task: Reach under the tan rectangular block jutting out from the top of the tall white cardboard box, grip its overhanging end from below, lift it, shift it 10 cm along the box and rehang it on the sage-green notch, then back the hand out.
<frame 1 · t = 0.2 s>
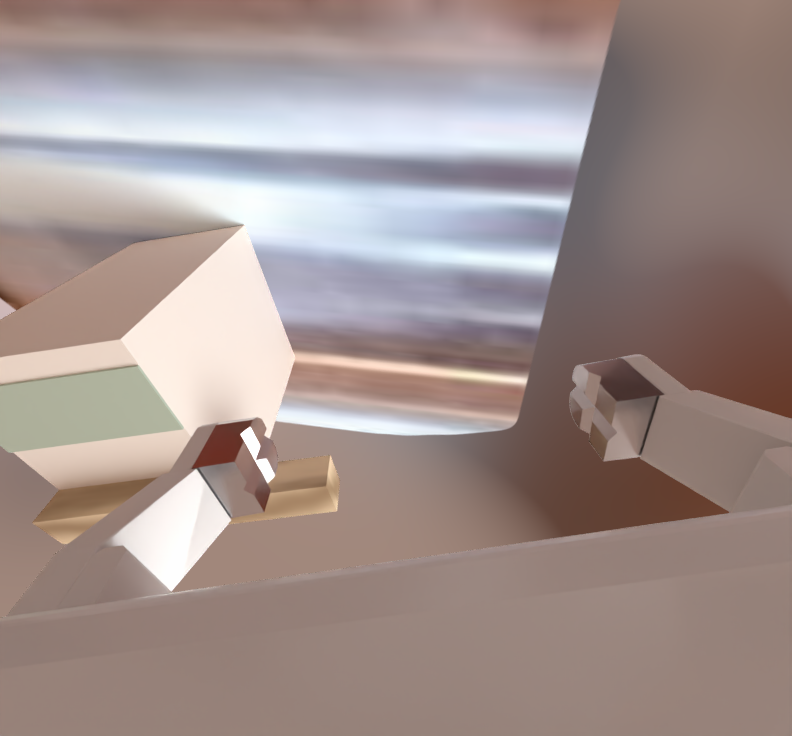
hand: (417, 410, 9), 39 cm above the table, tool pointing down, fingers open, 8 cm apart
white cardboard box: (224, 306, 49), on the table
tan rectangular block: (201, 485, 31), point 26 cm above the table, touching white cardboard box
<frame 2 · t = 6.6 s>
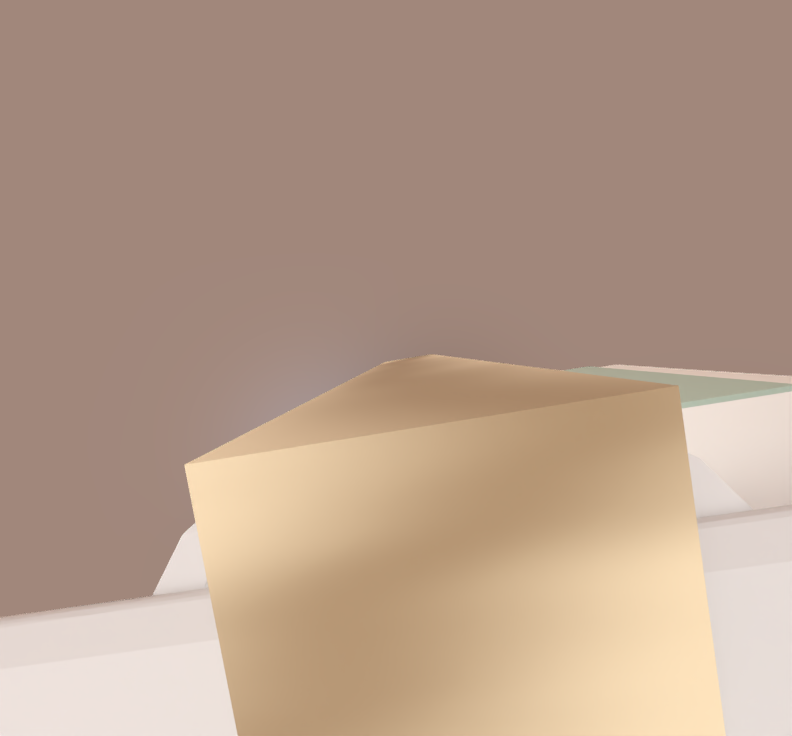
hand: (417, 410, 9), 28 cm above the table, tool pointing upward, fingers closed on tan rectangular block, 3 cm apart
tan rectangular block: (421, 435, 15), point 26 cm above the table, touching gripper, white cardboard box
when the fingers open (29 cm above the table, at t = 12.6 s): tan rectangular block drops 1 cm, resting on white cardboard box.
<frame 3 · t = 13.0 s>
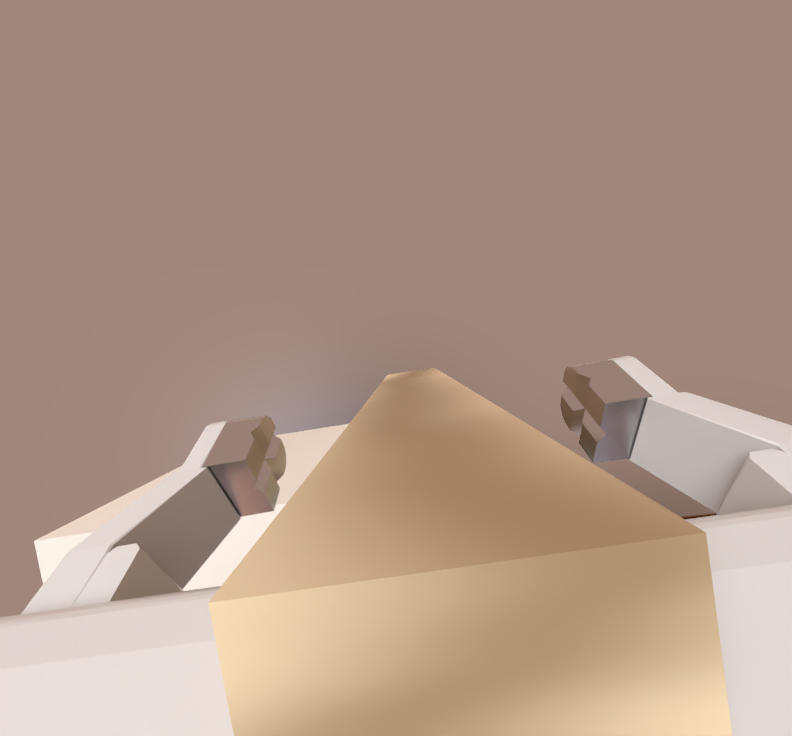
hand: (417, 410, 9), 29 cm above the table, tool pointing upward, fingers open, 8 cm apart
tan rectangular block: (425, 459, 15), point 26 cm above the table, touching white cardboard box
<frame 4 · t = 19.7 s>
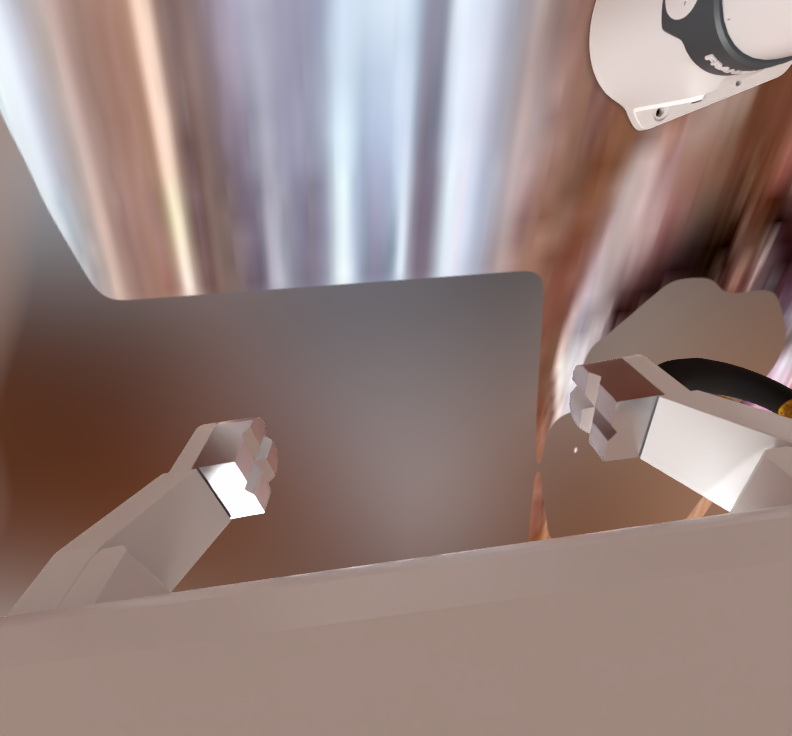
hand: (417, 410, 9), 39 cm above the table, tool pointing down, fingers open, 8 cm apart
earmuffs: (686, 369, 58), on the table
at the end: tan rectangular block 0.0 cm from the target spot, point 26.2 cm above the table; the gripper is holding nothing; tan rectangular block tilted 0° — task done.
